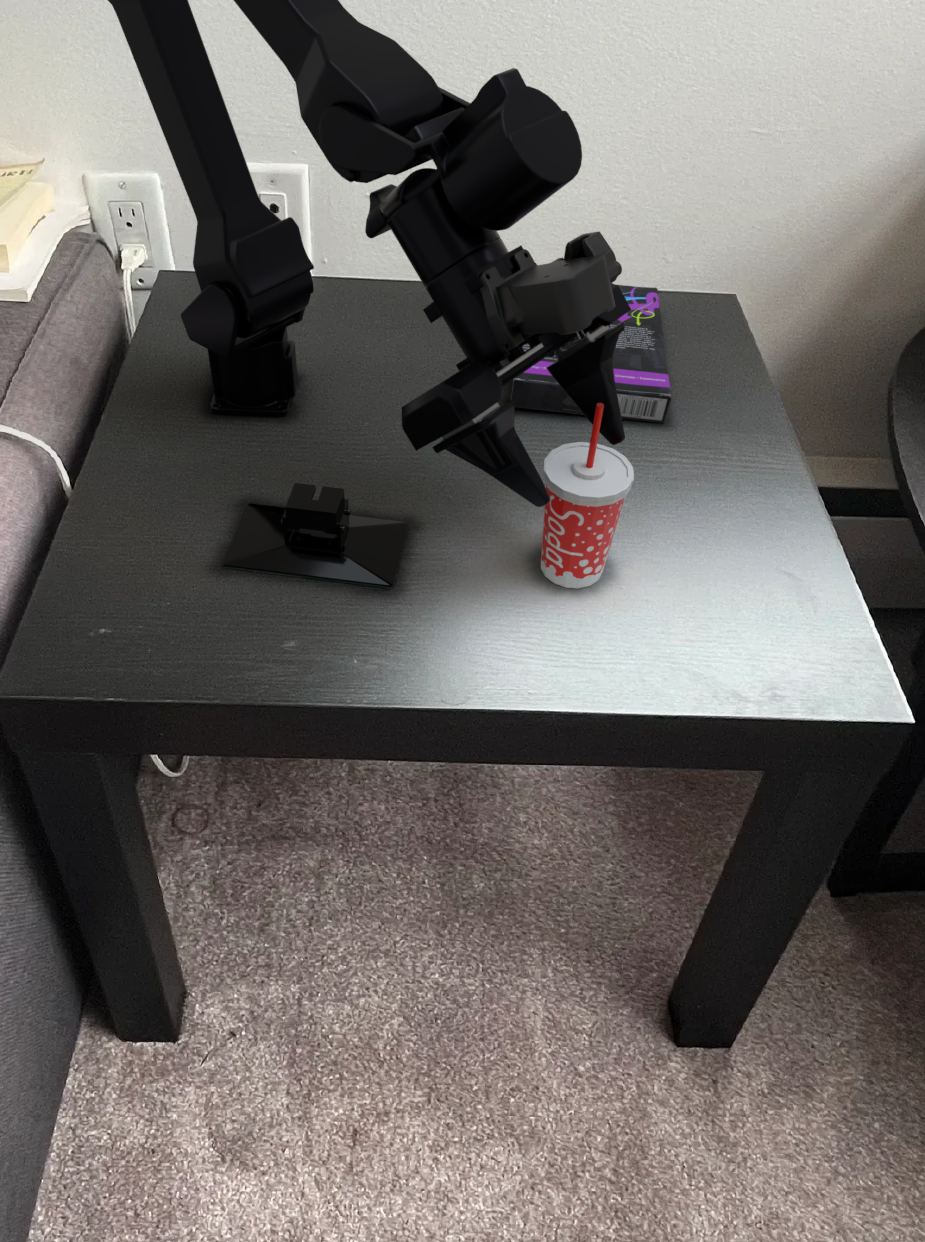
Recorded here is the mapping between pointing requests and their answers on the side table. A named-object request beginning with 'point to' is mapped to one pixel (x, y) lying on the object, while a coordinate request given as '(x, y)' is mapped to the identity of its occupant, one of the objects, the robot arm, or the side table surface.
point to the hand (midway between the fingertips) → (583, 472)
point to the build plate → (318, 541)
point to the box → (614, 367)
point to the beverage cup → (582, 508)
